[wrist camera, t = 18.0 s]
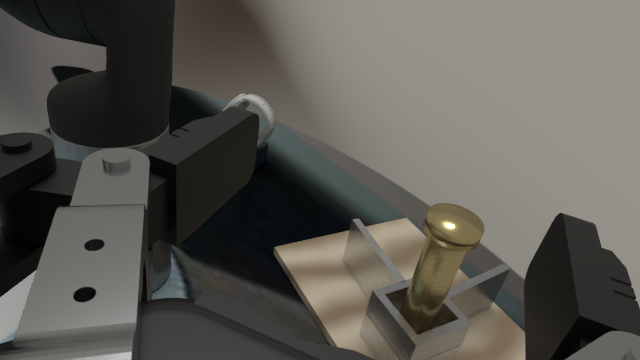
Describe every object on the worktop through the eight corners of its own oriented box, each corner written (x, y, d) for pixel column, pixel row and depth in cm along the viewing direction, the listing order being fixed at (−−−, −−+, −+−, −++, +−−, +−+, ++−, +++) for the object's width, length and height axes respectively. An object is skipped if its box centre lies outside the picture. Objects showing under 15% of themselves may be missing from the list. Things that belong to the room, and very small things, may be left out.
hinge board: (273, 253, 54) (274, 247, 53) (404, 223, 63) (406, 217, 63) (399, 455, 36) (402, 449, 35) (554, 371, 46) (558, 365, 45)
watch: (232, 148, 73) (236, 83, 68) (275, 164, 71) (284, 99, 65) (211, 161, 69) (214, 93, 63) (257, 179, 67) (264, 111, 61)
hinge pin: (372, 339, 44) (416, 208, 35) (407, 325, 46) (456, 199, 37) (400, 377, 41) (454, 244, 32) (436, 360, 43) (496, 231, 34)
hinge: (313, 267, 51) (321, 225, 48) (421, 239, 59) (434, 202, 56) (397, 389, 40) (416, 345, 37) (518, 334, 48) (541, 294, 44)
